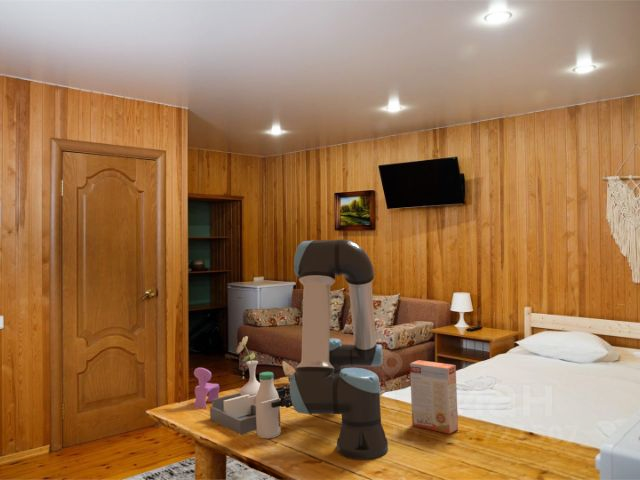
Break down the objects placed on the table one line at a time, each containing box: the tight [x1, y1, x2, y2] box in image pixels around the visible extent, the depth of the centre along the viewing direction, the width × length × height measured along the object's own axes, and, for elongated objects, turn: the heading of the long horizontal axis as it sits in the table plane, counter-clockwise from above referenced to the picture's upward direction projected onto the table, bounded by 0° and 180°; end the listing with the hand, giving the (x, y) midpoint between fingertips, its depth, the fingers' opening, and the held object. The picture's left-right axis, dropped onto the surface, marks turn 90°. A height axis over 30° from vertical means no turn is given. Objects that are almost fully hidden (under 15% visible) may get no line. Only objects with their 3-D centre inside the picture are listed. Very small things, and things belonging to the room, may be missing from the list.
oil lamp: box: [281, 360, 296, 383], centre depth 227 cm, size 9×21×10 cm, turn 53°
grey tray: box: [209, 392, 257, 435], centre depth 186 cm, size 20×13×7 cm, turn 40°
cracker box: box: [409, 359, 459, 435], centre depth 174 cm, size 14×6×21 cm, turn 47°
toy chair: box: [192, 367, 220, 410], centre depth 207 cm, size 8×9×15 cm
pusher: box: [223, 394, 251, 418], centre depth 188 cm, size 2×10×7 cm, turn 130°
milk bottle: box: [256, 371, 282, 439], centre depth 173 cm, size 8×8×20 cm
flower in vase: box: [236, 335, 260, 396], centre depth 216 cm, size 13×11×25 cm
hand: (254, 404), depth 170 cm, fingers closed on milk bottle, 7 cm apart
